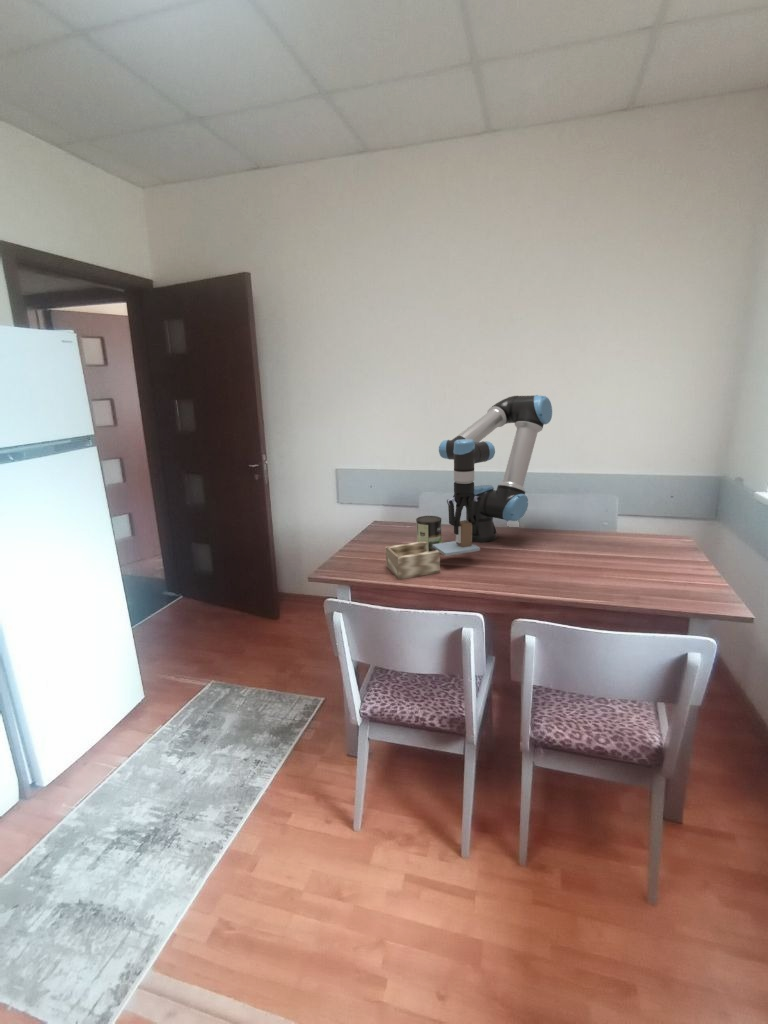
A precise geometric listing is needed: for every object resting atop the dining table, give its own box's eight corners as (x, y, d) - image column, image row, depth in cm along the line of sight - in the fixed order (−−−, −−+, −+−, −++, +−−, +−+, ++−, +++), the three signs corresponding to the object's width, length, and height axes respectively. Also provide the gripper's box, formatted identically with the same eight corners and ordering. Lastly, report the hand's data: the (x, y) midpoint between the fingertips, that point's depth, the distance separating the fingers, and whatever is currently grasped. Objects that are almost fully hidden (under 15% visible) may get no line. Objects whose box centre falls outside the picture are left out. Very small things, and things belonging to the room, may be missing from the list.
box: (424, 560, 189) (424, 541, 187) (439, 572, 176) (439, 551, 174) (386, 566, 184) (385, 546, 182) (399, 579, 172) (398, 558, 170)
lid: (465, 541, 192) (465, 517, 190) (480, 550, 181) (480, 524, 179) (432, 546, 188) (431, 522, 185) (445, 556, 177) (445, 529, 175)
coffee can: (442, 547, 203) (442, 515, 200) (440, 556, 194) (440, 522, 190) (418, 547, 205) (417, 515, 202) (415, 555, 196) (414, 521, 192)
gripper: (479, 477, 185) (478, 535, 191) (438, 482, 180) (439, 541, 186) (489, 480, 178) (488, 541, 184) (447, 485, 173) (448, 547, 179)
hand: (463, 541), depth 185 cm, fingers closed on lid, 4 cm apart
